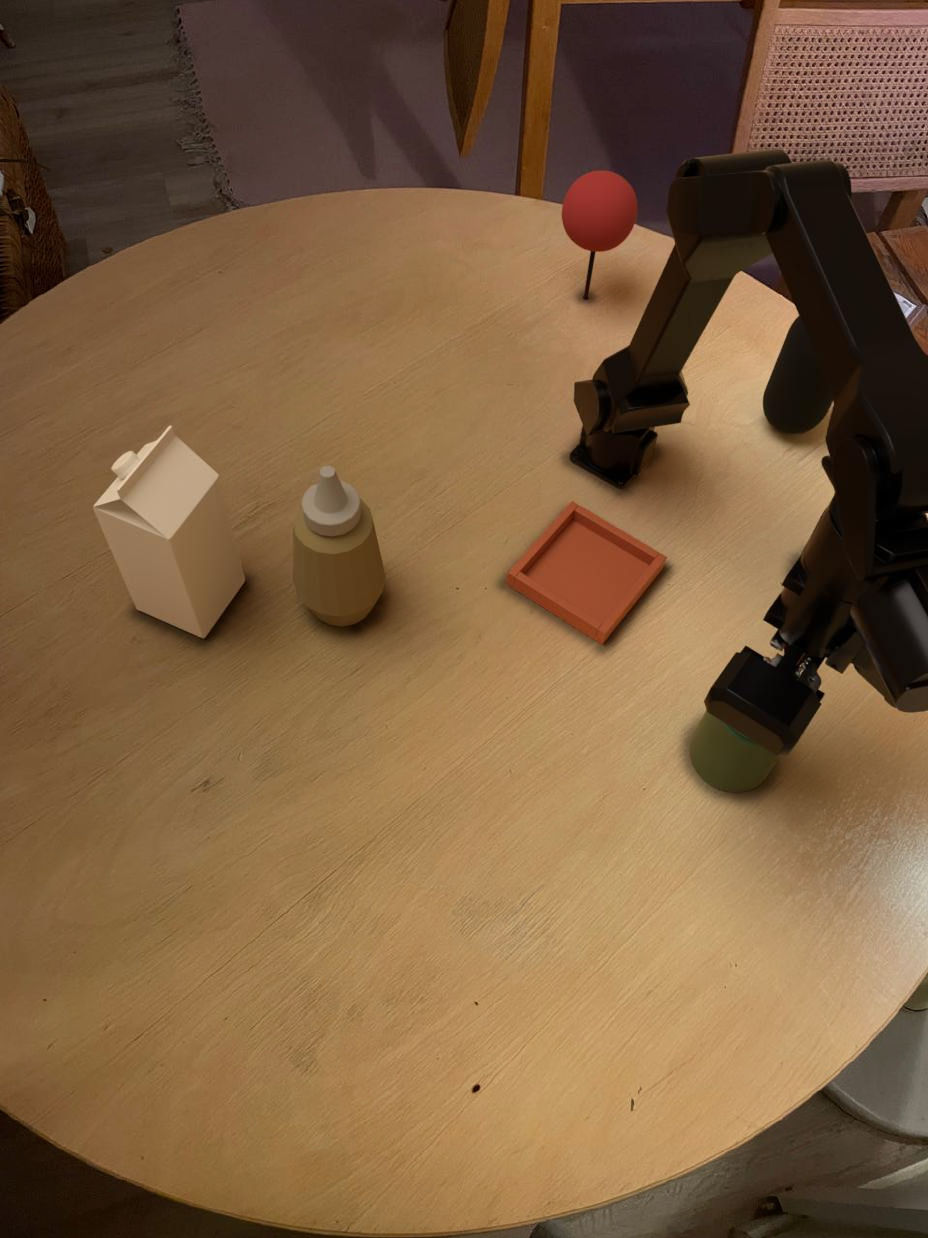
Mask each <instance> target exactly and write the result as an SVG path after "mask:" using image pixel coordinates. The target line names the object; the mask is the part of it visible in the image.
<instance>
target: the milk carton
mask: <svg viewBox="0 0 928 1238" xmlns="http://www.w3.org/2000/svg"><path fill="white" fill-rule="evenodd" d="M110 470H111V472H113V473H114V474H115V475H116V476H117V477H116V479H114V481H113V482H111V484H110V485H109V487H108V488H107V489H105V492H104V493H102V495H101V496H100V497H99V498H98V500H97V501H96V502H95V503H94V504H93V506H92V510H93V511H94V514H95V516H96V519H97V521H98V523H99V526H100V528H101V530H102V532H103V535H104V537H105V540H106V542H107V544H108V546H109V550H110V552H111V553H112V556H113V558H114V560H115V563H116V565H117V568H118V570H119V572H120V575H121V576H122V579H123V581H124V584H125V586H126V589H127V591H128V593H129V596H130V598H131V600H132V602H133V605H134V606H135V609H136V610H137V611H139V612H142V613H144V614H146V615H148V616H150V617H153V618H156V619H157V620H160V621H162V622H165V623H167V624H169V625H171V626H174V627H176V628H178V629H180V630H181V631H182V630H183V631H184V632H187V633H190V634H192V635H194V636H196V637H199V638H201V639H205V638H206V637H207V636H208V635H209V633H210V632H211V630H212V629H213V627H214V626H215V625H216V623H217V622H218V620H219V619H220V617H221V616H222V615H223V613H224V612H225V610H226V609H227V608H228V606H229V605H230V603H231V602H232V601H233V599H234V597H235V596H236V595H237V594H238V592H239V591H240V589H241V588H242V586H243V585H244V584H245V582H246V577H245V573H244V569H243V565H242V562H241V557H240V554H239V549H238V545H237V542H236V538H235V534H234V529H233V525H232V521H231V517H230V514H229V510H228V506H227V503H226V502H227V501H226V499H225V494H224V490H223V486H222V483H221V482H222V481H221V479H220V474H219V473H218V472H216V470H214V469H213V468H212V467H211V466H210V465H209V464H208V463H207V462H205V461H204V459H202V457H200V456H199V455H198V454H197V453H195V452H194V451H193V450H192V449H191V448H190V447H189V446H188V445H187V444H185V442H183V441H182V440H181V439H180V438H179V437H178V436H177V435H176V433H175V430H174V426H173V425H171V424H170V425H168V426H167V428H166V429H165V430H164V431H163V433H162V434H161V435H160V436H159V437H158V438H157V440H154V441H151V442H148V443H146V444H144V446H143V447H141V449H140V450H139V451H138V452H137V453H135V451H133V450H129V451H126V452H124V453H123V454H121V456H119V458H117V459H116V460H115V462H114V463H113V464H112V466H111V469H110Z"/></svg>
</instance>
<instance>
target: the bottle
mask: <svg viewBox="0 0 928 1238" xmlns="http://www.w3.org/2000/svg"><path fill="white" fill-rule="evenodd" d="M689 756H690V760H691V763H692V766H693V768H694V770H695V771H696V773H697V774H698V775H699V776H700V777H701V778H702V779H703V780H704V781H705V782H706V783H707V784H708V785H710V786H712V787H713V788H716V789H717V790H719V791H723V792H728V793H744V792H749V791H751V790H753V789H755V788H757V787H758V786H760V785H761V784H762V783H763V782H764V781H765V779H766V778H767V777H768V775H769V774H770V772H771V771H772V770H773V768H774V767H775V765H776V764H777V762H778V761H779V760H780V758H781V757H782V756H776V755H774V754H772V753H771V752H769V751H768V750H766V749H765V748H763V747H761V746H760V745H758V744H757V743H755V742H754V741H752V740H750V739H749V738H747V737H746V736H744V735H742V734H741V733H739V732H738V731H736V730H735V729H733V728H731V727H730V726H728V725H727V724H725V723H724V722H722V721H720V720H719V719H717V718H716V717H714V716H713V715H711V714H709V713H708V712H707V710H706V709H705V711H704V714H703V716H702V717H701V720H700V721H699V723H698V725H697V726H696V728H695V731H694V733H693V735H692V737H691V740H690V743H689Z"/></svg>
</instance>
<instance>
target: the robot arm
mask: <svg viewBox="0 0 928 1238" xmlns="http://www.w3.org/2000/svg"><path fill="white" fill-rule="evenodd" d="M852 194H853V193H852V181H851V177H850V174H849V170H848V169H847V168H846V167H845V165H844V164H843V163H840V162H837V161H836V162H835V161H833V160H831V159H829V158H823V159H816V160H807V161H796V162H792V160H791V158H790V156H789V154H787V152H785V151H784V150H783V149H780V148H772V149H771V148H770V149H762V150H761V149H760V150H753V151H744V152H735V153H725V154H716V155H708V156H700V157H692V158H686V159H685V160H684V161H683V162H682V163H681V164H680V166H679V168H678V169H677V172H676V174H675V177H674V179H673V180H672V182H671V183H670V186H669V189H668V194H667V205H666V208H665V215H666V218H667V221H668V225H669V228H670V231H671V234H672V238H673V240H674V246H673V247H672V249H671V252H670V254H669V256H668V258H667V260H666V263H665V265H664V267H663V269H662V272H661V274H660V276H659V278H658V280H657V283H656V285H655V287H654V289H653V292H652V294H651V296H650V298H649V301H648V303H647V305H646V307H645V310H644V311H643V313H642V316H641V318H640V320H639V322H638V325H637V327H636V329H635V332H634V334H633V336H632V338H631V340H630V342H629V344H628V345H627V346H625V347H623V348H621V349H620V350H618V351H616V352H614V353H613V354H610V355H609V356H607V357H605V358H604V359H603V360H602V361H601V363H600V364H599V366H597V369H596V370H595V372H594V373H593V375H592V378H591V379H588V380H580V381H574V384H573V386H574V387H573V403H574V406H575V409H576V412H577V413H578V416H579V419H580V421H581V424H582V426H581V430H580V435H579V440H578V441H579V442H578V444H577V445H576V446H575V447H574V448H573V449H572V450H571V451H570V453H569V456H568V459H569V460H570V461H571V462H573V463H574V464H576V465H578V466H579V467H581V468H583V469H584V470H587V471H588V472H589V473H592V474H594V475H595V476H597V477H599V478H600V479H602V480H604V481H606V482H607V483H609V484H611V485H612V486H614V487H616V488H617V489H624V488H625V487H626V486H627V485H628V484H629V482H630V481H631V480H632V479H633V478H634V477H637V476H639V475H640V474H641V473H642V472H643V471H644V469H645V468H646V467H647V466H648V465H649V464H650V463H651V461H652V457H653V455H654V453H655V450H656V448H655V447H656V443H657V440H658V437H659V435H658V432H657V431H655V429H656V428H658V427H663V426H669V425H677V424H682V420H683V416H684V413H685V411H686V410H687V409H688V408H689V407H690V406H691V403H690V400H689V398H688V395H689V390H688V385H687V383H686V381H685V378H684V374H683V369H684V367H685V365H686V364H687V362H688V360H689V358H690V356H691V354H692V353H693V351H694V350H695V347H696V345H697V344H698V342H699V340H701V339H700V338H701V337H702V335H703V334H704V331H705V330H706V329H707V326H708V324H709V322H710V321H711V319H712V317H713V315H714V313H715V312H716V310H717V308H718V307H719V305H720V304H721V301H722V300H723V298H724V296H725V294H726V293H727V291H728V289H729V287H730V285H731V283H732V282H733V280H734V278H735V276H736V275H737V274H739V273H740V272H742V271H743V270H745V269H748V268H749V267H752V266H753V265H754V264H756V263H759V262H761V260H763V259H765V258H767V257H769V256H770V255H772V254H773V257H774V259H775V262H776V263H777V266H778V269H779V271H780V273H781V277H782V278H783V281H784V283H785V286H786V288H787V289H788V290H787V291H788V293H789V295H790V297H791V300H792V302H793V304H794V306H795V309H796V311H797V314H798V316H800V319H801V321H802V323H803V326H804V328H805V330H806V333H807V335H808V337H809V340H810V342H811V345H812V347H813V349H814V352H815V354H816V356H817V359H818V361H819V364H820V366H821V368H822V371H823V373H824V375H825V378H826V380H827V383H828V385H829V389H830V392H831V395H832V399H833V402H832V403H833V405H832V409H831V413H830V417H829V421H828V425H827V429H826V433H825V437H824V438H825V444H826V448H827V450H828V455H824V456H823V457H821V462H820V463H821V467H822V468H823V470H824V473H825V474H826V476H827V478H828V480H829V482H830V484H831V485H832V488H833V491H834V493H833V496H832V498H831V499H830V502H828V505H827V506H826V508H827V509H826V508H825V509H826V511H825V513H824V514H823V516H822V518H821V520H820V522H819V524H818V526H817V527H816V526H815V527H816V529H815V531H814V533H813V535H812V537H811V538H810V537H809V538H810V540H809V539H808V540H809V542H808V541H807V542H808V544H807V543H806V544H807V546H806V545H805V546H806V548H805V550H804V551H803V550H802V551H803V553H802V552H801V553H802V555H801V554H800V555H801V556H800V555H799V557H798V558H797V560H796V562H795V563H794V564H793V566H792V567H791V568H790V570H789V571H788V573H787V574H786V575H785V577H784V579H783V581H782V583H781V586H782V587H783V588H782V590H781V592H780V593H779V594H778V596H777V597H776V598H775V600H774V601H773V603H772V604H771V606H770V607H769V609H767V611H766V613H765V615H764V616H763V618H762V621H763V622H765V623H767V624H768V625H770V626H772V627H773V628H775V629H777V630H776V631H775V633H774V634H773V636H771V638H770V640H769V646H771V648H774V649H775V650H777V651H781V652H783V655H782V654H780V653H779V652H777V653H776V654H775V655H774V657H772V659H771V658H770V656H764V655H762V654H761V653H759V652H757V651H756V650H755V649H752V647H749V646H748V645H744V646H743V648H742V649H741V651H735V653H734V654H733V656H732V657H731V659H730V660H729V661H728V663H727V664H726V665H725V667H724V668H723V670H722V671H721V672H720V674H719V675H718V677H717V678H716V680H715V681H714V682H713V684H712V686H710V689H708V692H707V694H706V696H705V698H704V700H703V703H704V705H705V707H704V708H705V711H706V710H707V712H708V713H709V714H711V715H713V716H714V717H716V718H717V719H719V720H720V721H722V722H724V723H725V724H727V725H728V726H730V727H731V728H733V729H735V730H736V731H738V732H739V733H741V734H742V735H744V736H746V737H747V738H749V739H750V740H752V741H754V742H755V743H757V744H758V745H760V746H761V747H763V748H765V749H766V750H768V751H769V752H771V753H772V754H774V755H776V756H781V757H782V756H789V755H790V754H791V752H792V750H793V749H794V748H795V747H796V745H797V744H798V742H799V741H800V739H801V738H802V736H803V735H804V733H805V731H806V729H807V728H808V726H809V725H810V723H811V722H812V720H813V719H814V717H815V715H816V714H817V713H818V711H819V709H820V708H821V706H822V703H821V701H822V700H823V698H824V697H825V696H826V693H825V692H824V691H823V690H820V688H821V685H822V683H823V682H822V680H823V679H822V678H821V676H820V674H819V673H818V670H819V668H821V665H822V664H823V662H824V664H825V665H826V666H827V667H829V668H831V669H833V670H834V671H836V672H838V673H839V674H841V675H843V674H844V672H845V671H846V670H847V668H849V666H850V665H851V664H852V665H853V668H854V669H855V671H856V673H857V674H858V675H859V676H860V677H862V678H863V680H865V681H866V682H867V683H868V684H869V685H870V686H871V687H873V688H874V690H876V691H877V692H878V693H879V694H880V695H881V696H882V697H883V698H884V701H885V702H886V703H887V705H889V706H890V707H892V708H895V709H897V710H898V711H899V712H901V713H909V714H911V713H912V714H913V713H922V712H928V515H927V514H928V354H927V353H926V352H925V351H924V349H923V348H922V346H921V345H920V343H919V342H918V340H917V339H916V336H915V334H914V331H913V330H912V328H911V326H910V323H909V322H908V320H907V317H906V315H905V313H904V310H903V309H902V307H901V306H902V305H901V304H900V303H899V300H898V298H897V296H896V293H895V292H894V289H893V287H892V285H891V283H890V281H889V279H888V277H887V275H886V272H885V270H884V269H883V266H882V264H881V261H880V260H879V258H878V256H877V253H876V252H875V249H874V247H873V245H872V243H871V241H870V237H869V236H868V234H867V232H866V230H865V227H864V226H863V224H862V223H863V222H862V221H861V219H860V217H859V215H858V213H857V211H856V208H855V207H854V204H853V203H852V196H853V195H852Z"/></svg>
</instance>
